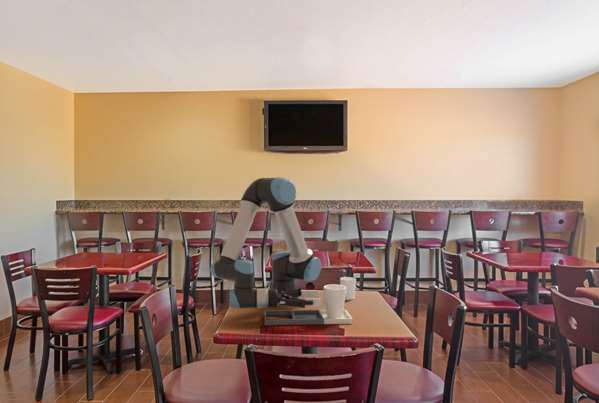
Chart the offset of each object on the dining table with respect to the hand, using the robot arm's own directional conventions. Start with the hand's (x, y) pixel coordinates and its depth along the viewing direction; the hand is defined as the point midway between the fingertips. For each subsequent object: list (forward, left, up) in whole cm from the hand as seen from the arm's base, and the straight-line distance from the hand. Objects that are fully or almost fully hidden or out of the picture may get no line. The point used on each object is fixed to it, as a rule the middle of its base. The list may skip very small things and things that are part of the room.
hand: (318, 297), depth 166 cm
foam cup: (+4, +5, -9) cm, 11 cm away
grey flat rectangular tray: (-3, -3, -9) cm, 10 cm away
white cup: (-13, +36, -9) cm, 39 cm away
